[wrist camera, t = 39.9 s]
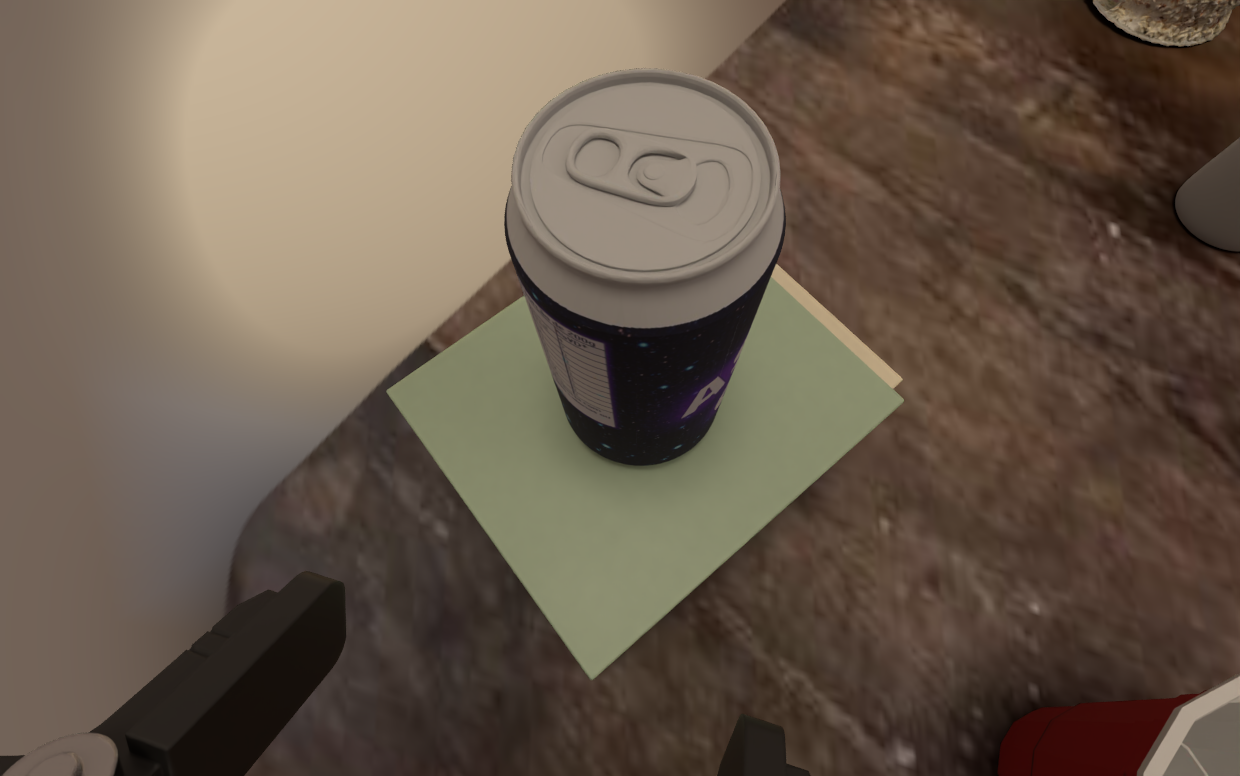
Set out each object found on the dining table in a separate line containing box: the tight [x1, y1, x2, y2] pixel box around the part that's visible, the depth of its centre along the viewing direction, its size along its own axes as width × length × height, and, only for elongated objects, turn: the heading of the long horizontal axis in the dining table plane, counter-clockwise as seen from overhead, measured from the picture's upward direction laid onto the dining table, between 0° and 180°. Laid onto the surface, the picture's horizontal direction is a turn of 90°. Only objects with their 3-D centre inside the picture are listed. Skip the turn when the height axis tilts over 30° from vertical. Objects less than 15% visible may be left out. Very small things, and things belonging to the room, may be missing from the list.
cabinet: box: [386, 277, 904, 680], centre depth 26 cm, size 15×13×9 cm
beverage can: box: [504, 69, 786, 466], centre depth 16 cm, size 6×6×12 cm
